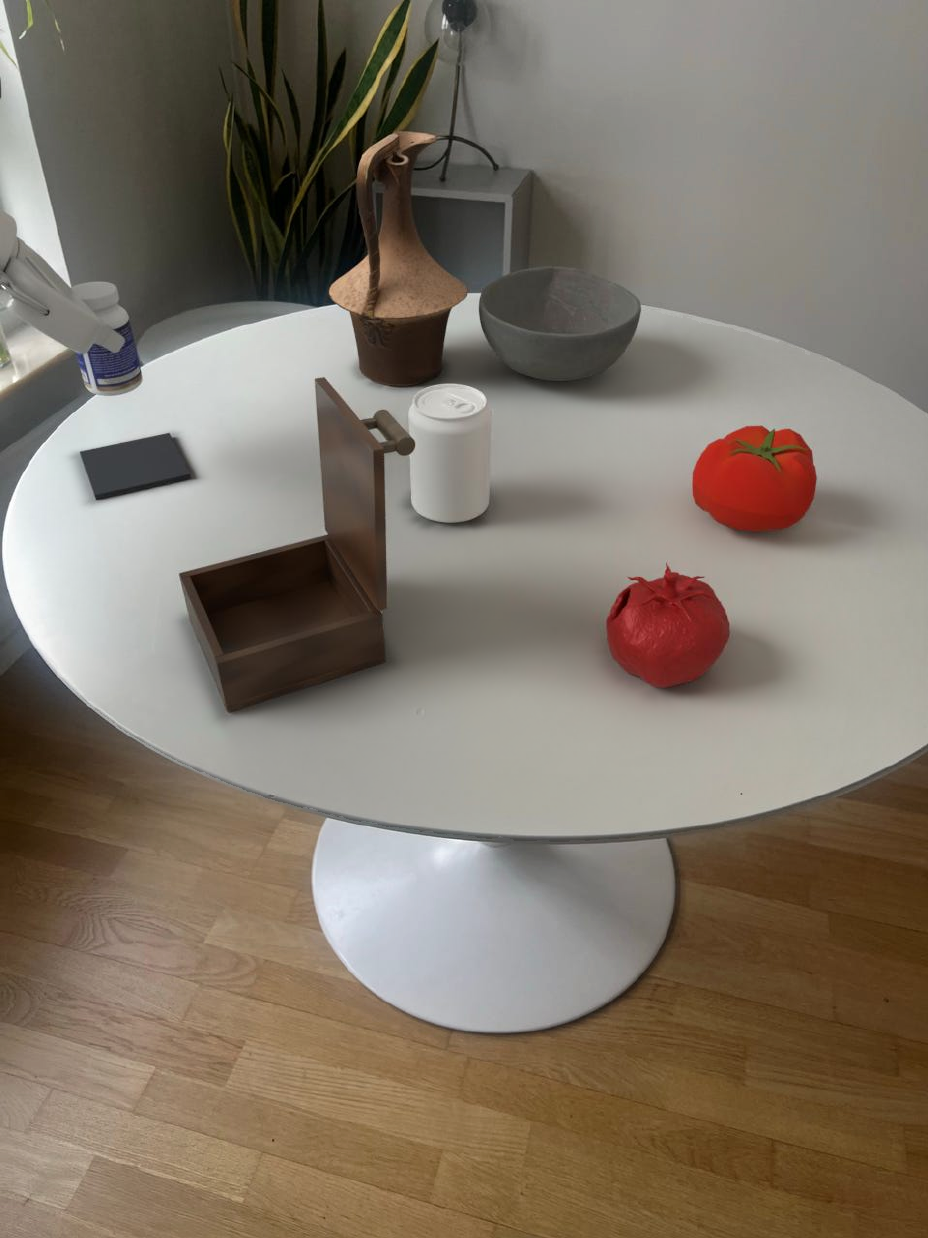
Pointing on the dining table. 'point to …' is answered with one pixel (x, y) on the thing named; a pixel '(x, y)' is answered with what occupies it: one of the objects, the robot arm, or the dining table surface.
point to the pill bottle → (99, 364)
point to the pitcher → (396, 274)
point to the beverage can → (450, 452)
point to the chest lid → (357, 484)
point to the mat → (134, 465)
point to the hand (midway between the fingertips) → (107, 331)
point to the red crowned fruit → (667, 629)
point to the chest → (282, 621)
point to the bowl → (558, 322)
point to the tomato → (756, 479)
